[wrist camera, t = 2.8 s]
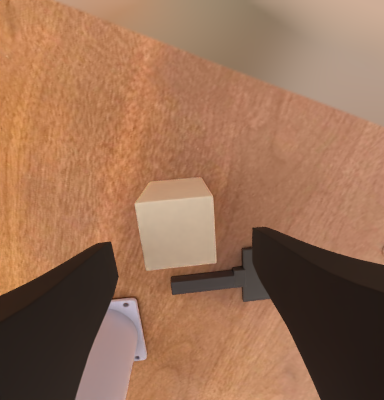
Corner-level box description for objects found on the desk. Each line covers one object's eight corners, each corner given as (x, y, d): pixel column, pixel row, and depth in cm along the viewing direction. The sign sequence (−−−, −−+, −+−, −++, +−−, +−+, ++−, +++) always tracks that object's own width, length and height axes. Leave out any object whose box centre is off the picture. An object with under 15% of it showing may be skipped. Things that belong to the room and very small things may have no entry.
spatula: (175, 306, 21) (174, 314, 20) (168, 255, 19) (167, 261, 18) (294, 293, 21) (299, 299, 20) (299, 242, 19) (304, 246, 19)
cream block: (155, 229, 18) (145, 271, 12) (148, 181, 17) (133, 203, 11) (204, 224, 18) (216, 263, 12) (201, 176, 17) (213, 195, 11)
